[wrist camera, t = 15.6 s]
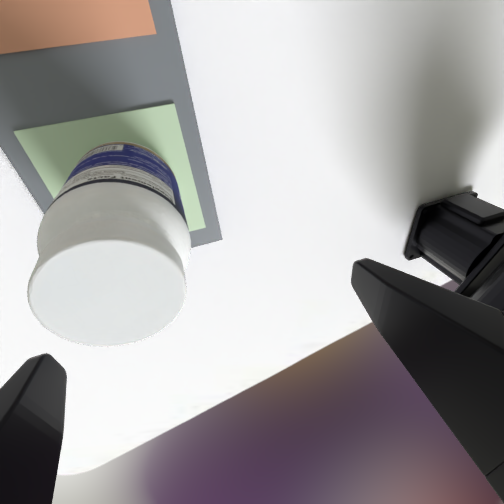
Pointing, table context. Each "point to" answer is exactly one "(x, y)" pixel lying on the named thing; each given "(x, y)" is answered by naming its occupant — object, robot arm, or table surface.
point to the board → (99, 95)
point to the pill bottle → (112, 249)
